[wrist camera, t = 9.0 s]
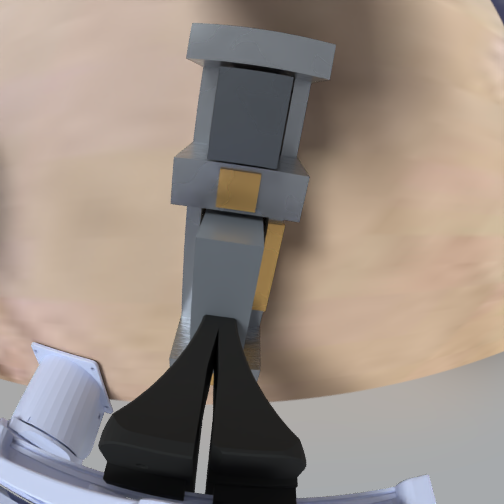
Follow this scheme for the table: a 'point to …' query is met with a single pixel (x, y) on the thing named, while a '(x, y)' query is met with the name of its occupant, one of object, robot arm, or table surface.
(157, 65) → the table surface
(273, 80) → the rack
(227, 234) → the panel
